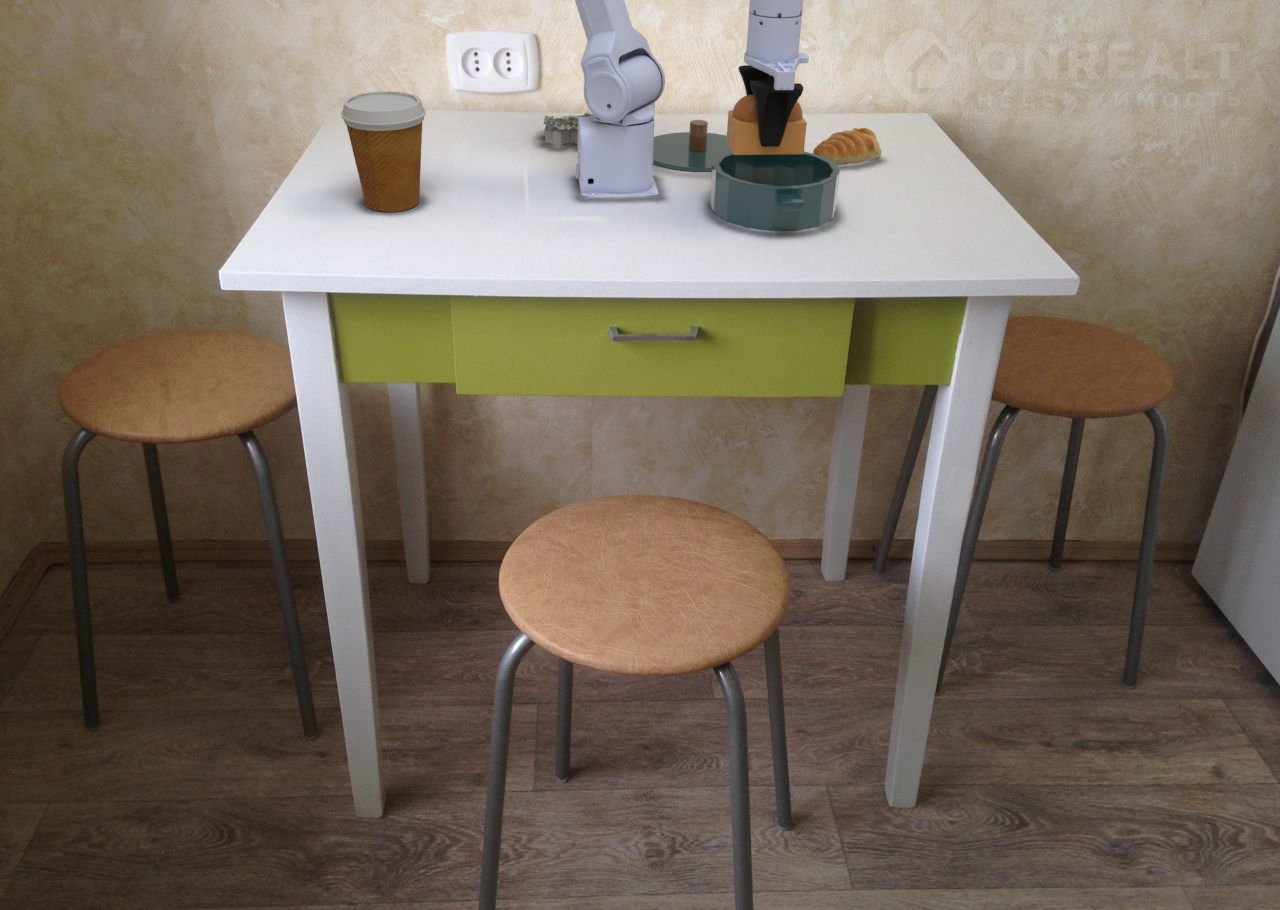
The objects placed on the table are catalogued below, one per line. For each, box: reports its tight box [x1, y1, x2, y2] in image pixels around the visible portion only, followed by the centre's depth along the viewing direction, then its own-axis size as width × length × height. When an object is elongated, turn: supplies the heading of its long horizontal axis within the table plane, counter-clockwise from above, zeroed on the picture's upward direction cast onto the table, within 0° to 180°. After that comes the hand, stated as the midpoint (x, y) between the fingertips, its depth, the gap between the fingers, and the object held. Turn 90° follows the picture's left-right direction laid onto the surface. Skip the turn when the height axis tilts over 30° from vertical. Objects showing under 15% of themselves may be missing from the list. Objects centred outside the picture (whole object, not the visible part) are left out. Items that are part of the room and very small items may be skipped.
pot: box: [709, 151, 841, 232], centre depth 134 cm, size 15×20×6 cm
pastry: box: [812, 127, 882, 166], centre depth 152 cm, size 9×7×4 cm
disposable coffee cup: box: [340, 90, 427, 213], centre depth 133 cm, size 10×10×12 cm
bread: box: [726, 94, 808, 155], centre depth 129 cm, size 8×5×6 cm, turn 96°
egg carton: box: [543, 112, 594, 147], centre depth 156 cm, size 11×8×4 cm
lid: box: [653, 119, 732, 173], centre depth 152 cm, size 16×16×5 cm
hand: (765, 138), depth 130 cm, fingers closed on bread, 5 cm apart
